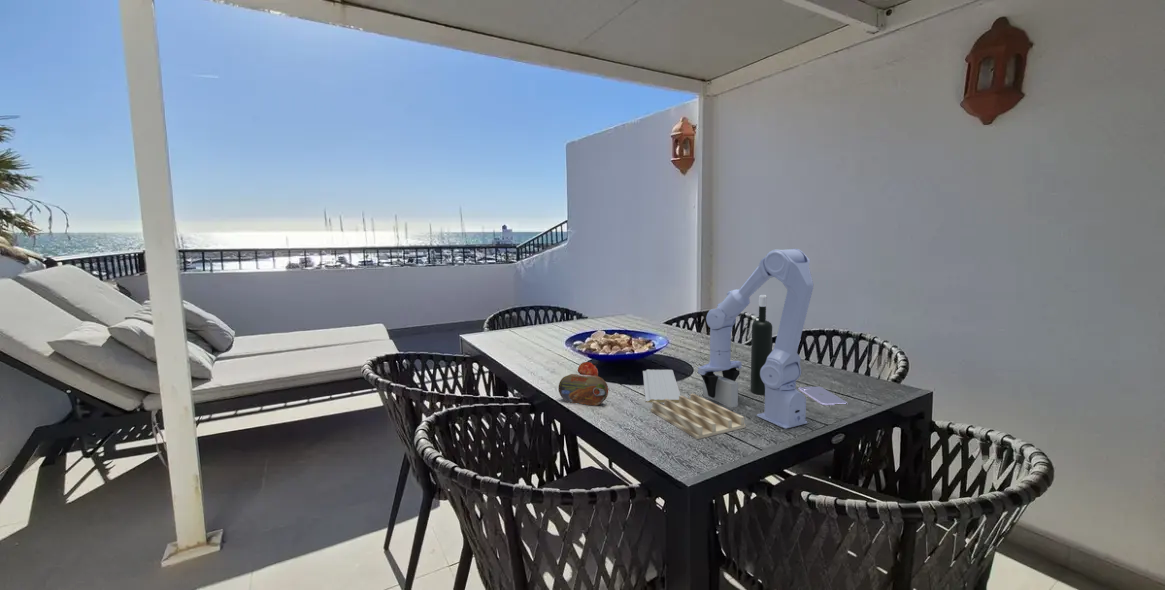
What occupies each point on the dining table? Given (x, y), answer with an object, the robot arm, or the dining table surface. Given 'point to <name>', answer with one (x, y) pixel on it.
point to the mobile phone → (822, 395)
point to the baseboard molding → (660, 385)
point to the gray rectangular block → (724, 392)
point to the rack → (698, 416)
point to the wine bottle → (760, 347)
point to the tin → (583, 389)
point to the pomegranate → (588, 369)
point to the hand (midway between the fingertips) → (719, 395)
